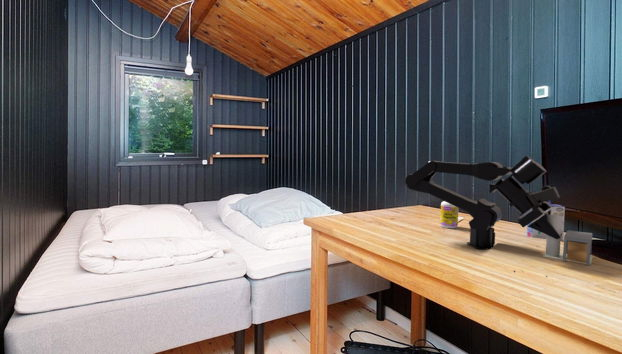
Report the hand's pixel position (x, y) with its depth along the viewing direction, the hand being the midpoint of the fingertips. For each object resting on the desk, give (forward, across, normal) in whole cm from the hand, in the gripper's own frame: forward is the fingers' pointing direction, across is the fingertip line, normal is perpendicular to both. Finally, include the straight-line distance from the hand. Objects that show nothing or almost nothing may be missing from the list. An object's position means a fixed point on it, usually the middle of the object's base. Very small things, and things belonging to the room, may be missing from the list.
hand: (559, 237), depth 91 cm
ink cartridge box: (0, +25, +9) cm, 27 cm away
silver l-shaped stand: (+6, 0, +3) cm, 7 cm away
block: (+7, 0, +1) cm, 7 cm away
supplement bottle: (-22, +22, +32) cm, 44 cm away
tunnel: (+8, 0, +2) cm, 8 cm away
